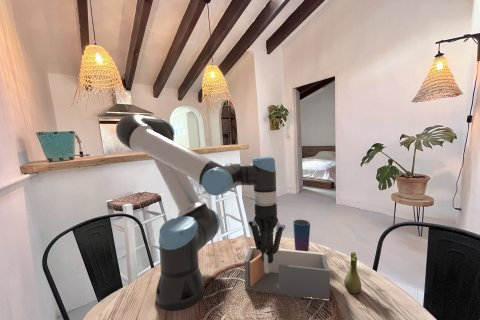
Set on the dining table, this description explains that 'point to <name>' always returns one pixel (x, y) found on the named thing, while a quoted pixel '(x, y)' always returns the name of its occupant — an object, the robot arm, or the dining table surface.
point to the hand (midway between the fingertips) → (267, 270)
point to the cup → (301, 234)
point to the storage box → (292, 274)
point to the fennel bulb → (353, 276)
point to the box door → (256, 269)
